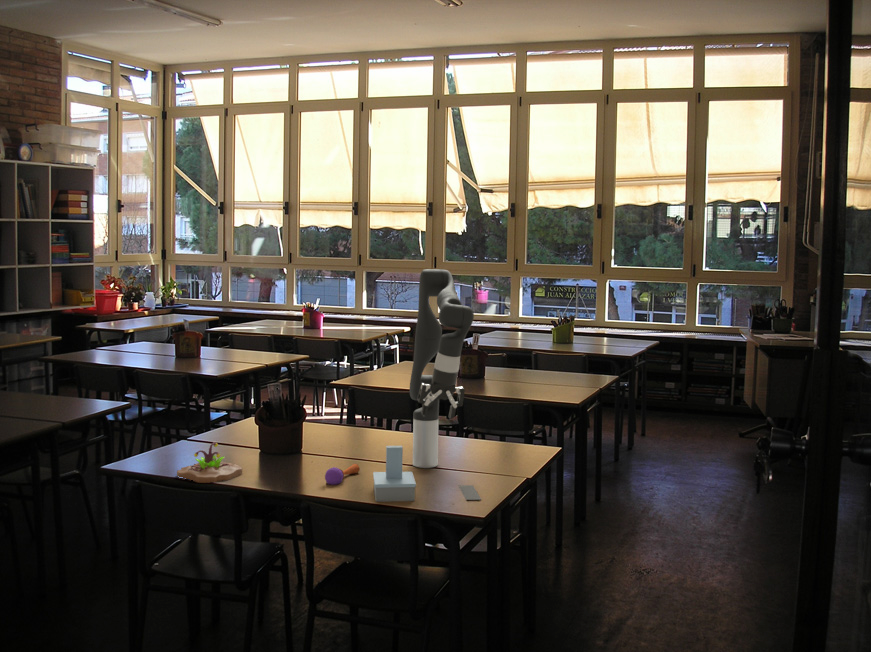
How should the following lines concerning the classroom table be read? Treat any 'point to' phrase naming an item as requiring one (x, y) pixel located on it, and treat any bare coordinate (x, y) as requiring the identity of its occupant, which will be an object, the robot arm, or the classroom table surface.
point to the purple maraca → (339, 474)
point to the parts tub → (394, 494)
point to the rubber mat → (469, 492)
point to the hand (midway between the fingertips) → (437, 417)
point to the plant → (210, 468)
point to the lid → (394, 471)
